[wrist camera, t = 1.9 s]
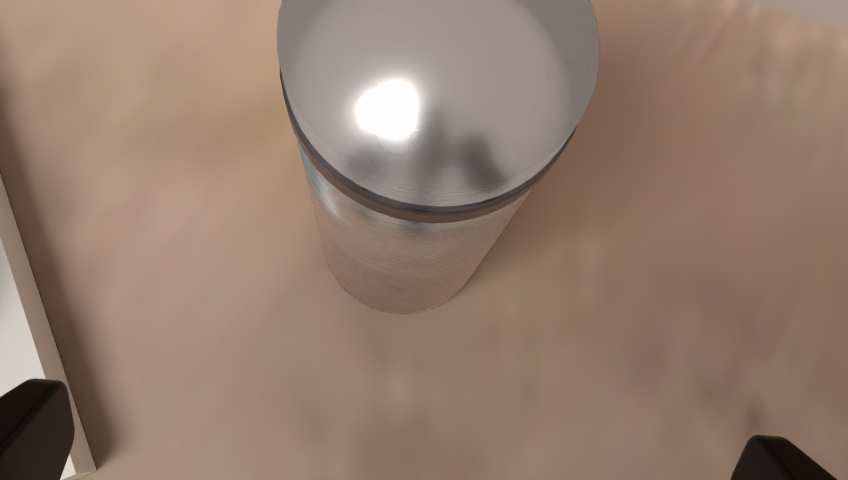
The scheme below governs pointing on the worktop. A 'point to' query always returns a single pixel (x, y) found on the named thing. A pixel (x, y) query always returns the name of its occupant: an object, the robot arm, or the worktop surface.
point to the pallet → (30, 333)
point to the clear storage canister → (428, 128)
